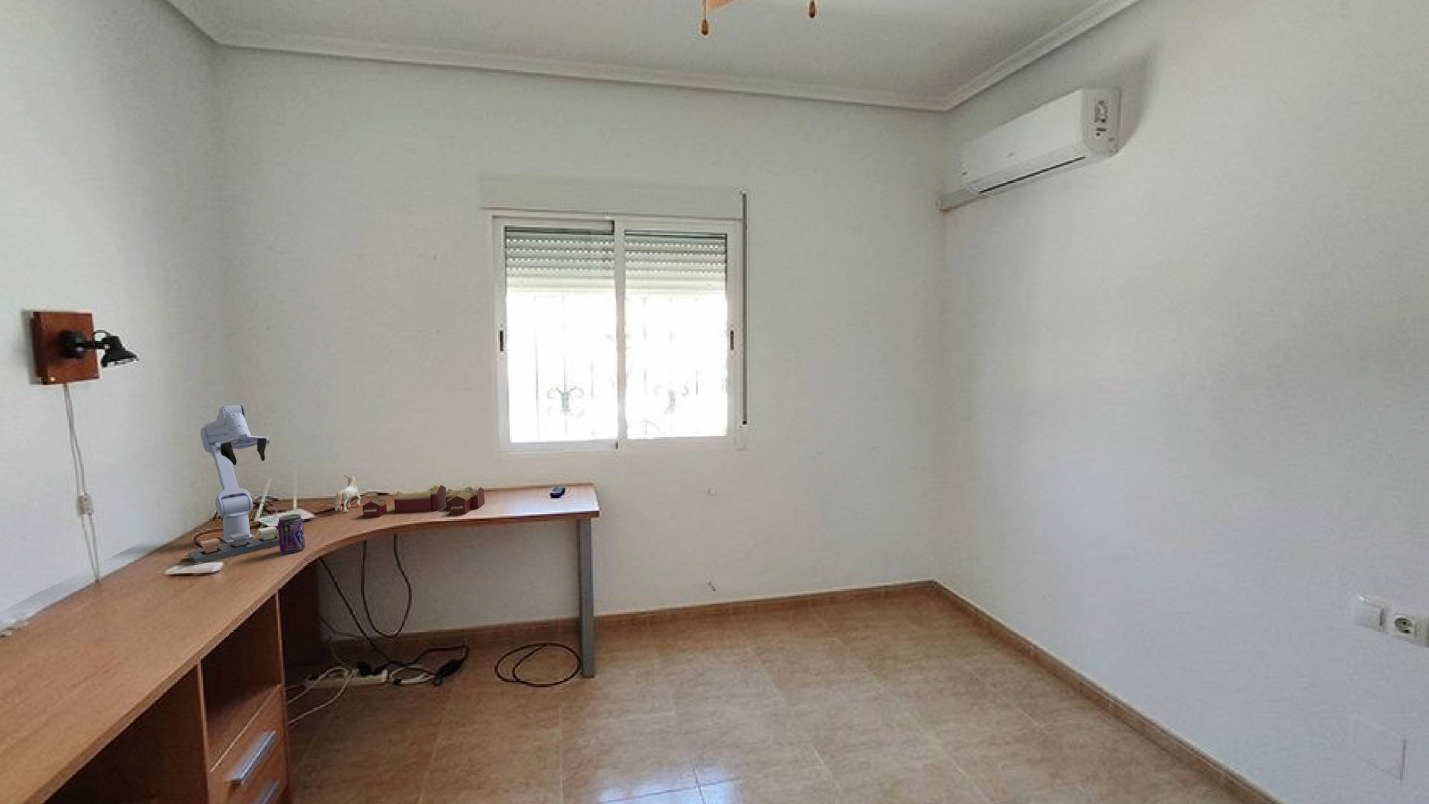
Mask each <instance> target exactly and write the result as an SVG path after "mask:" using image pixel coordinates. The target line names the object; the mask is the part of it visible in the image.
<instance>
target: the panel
mask: <svg viewBox="0 0 1429 804" xmlns="http://www.w3.org/2000/svg"><path fill="white" fill-rule="evenodd" d="M274 537H275V538H272V539H267V540H263V539H262V536H258V537H253V538H248V539H246V541H247V544H244V545H240V546H235V545H234V542H229V543H226V544H222V545H217V551H213V552H208V553H205V552H204V548H203V549H198V550H194V551H190V552H188V553H187V554H188V559H189V560H190V559H191V560H190V561H191V562H192V563H193V562H194V563H198V562H205V563H209V562H213V560H214V561H218V560H223V559H226V557H227V558H231V557H236V556H240V555H243V553H244V554H249V553H252V552H253V553H254V552H257V551H262V550H266V549H270V548H274V547H275V548H276V547H278V546H279V547H280V544H279V534H278V533H274ZM265 548H266V549H265ZM230 556H231V557H230ZM217 559H218V560H217ZM194 563H193V564H194Z"/></svg>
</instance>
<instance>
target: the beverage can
mask: <svg viewBox="0 0 1429 804" xmlns="http://www.w3.org/2000/svg"><path fill="white" fill-rule="evenodd" d="M277 532H278V534H279V544H280V545H279V551H280V552H281V553H284V554H292V553H297V551H298V552H300V551H302V550H303V549H305V548H306V540H305V528H304V519H303V518H302V517H301V514H300V513H299V514H298V513H295V514H294V513H293V514H287V515H282V516H280V517H278V521H277Z"/></svg>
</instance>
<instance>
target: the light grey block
mask: <svg viewBox="0 0 1429 804" xmlns="http://www.w3.org/2000/svg"><path fill="white" fill-rule="evenodd" d="M247 537H249V534H248V533H246V532H243V533H238V534H233V535H230V538H231V539H232V540H233V542H232V543H234V545H235V546H240V545H244V544H247V541H246V540H247V539H246V538H247Z"/></svg>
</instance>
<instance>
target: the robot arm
mask: <svg viewBox="0 0 1429 804" xmlns="http://www.w3.org/2000/svg"><path fill="white" fill-rule="evenodd" d="M245 418H246V411H245V407H244V405H243V404H234V405H233V404H231V405H222V406H221V407H219V409H218V415H217V416H216V420H215V421H212V422H210V423H206V424H205V425H204V426H203V427H202V428H201V429H200V439H201V443H202V446H203V449H204V451H205V452H207V453H210V454H211V456H212V458H213V460H214V464H215V467H216V471H217V474H218V477H219V482H220V485H221V489H222V491H220V492H219V493H218V494H217V495H216V497H215V507H216V508H215V509H216V513H217V515H218V516H220V518H221V517H222V526H223V535H224V536H221V538H220V539H222V540H223V541H224V542H226V544H230V543H234V542H233V540H232V539H231V538H230V535H233V534H238V533H243V532H246V533H248V534H249V537H247V538H246V540H249V539H253V538H255V535H253V534H252V533H251V529H250V520H249V514H250V512H251V511H252V510H253V508H254V506H253V505H254V504H253V498H252V496H251V494H250V492H249V491H248V489H245V488H241V487H239V485H238V481H237V478H236V474H235V472H234V467H233V466H236V465H237V457H236V455H235V452H234V449H235V450H243V449H247V448H250V447H253V446H256V447H257V448H256V451H257V453H258V455H259V456H260V460H261V462H264V461H265V460H266V456H265V450H266V449H267V448H266V447H267V445H269V444H270V443H271V442H270V441H271V440H270V438H269V436H268V435H267V436H260V435H251V432H250V429H249V426H248V424H247V421H246V419H245Z"/></svg>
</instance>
